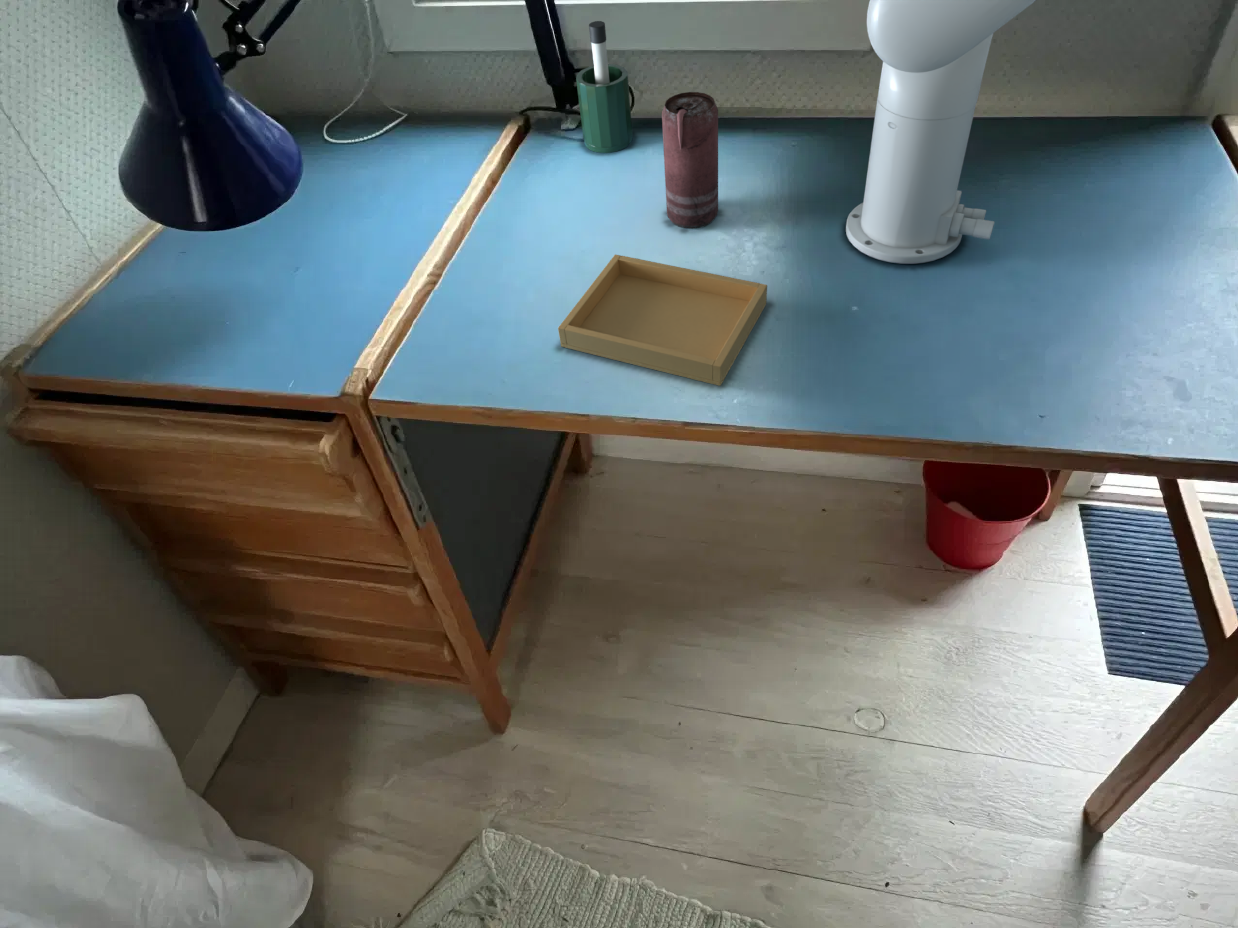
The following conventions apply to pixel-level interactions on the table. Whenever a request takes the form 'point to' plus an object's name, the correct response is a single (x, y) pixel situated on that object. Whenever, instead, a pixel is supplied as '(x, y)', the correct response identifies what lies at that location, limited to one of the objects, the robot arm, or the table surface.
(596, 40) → the marker
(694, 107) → the can
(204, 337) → the table surface
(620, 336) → the tray
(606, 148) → the tumbler
